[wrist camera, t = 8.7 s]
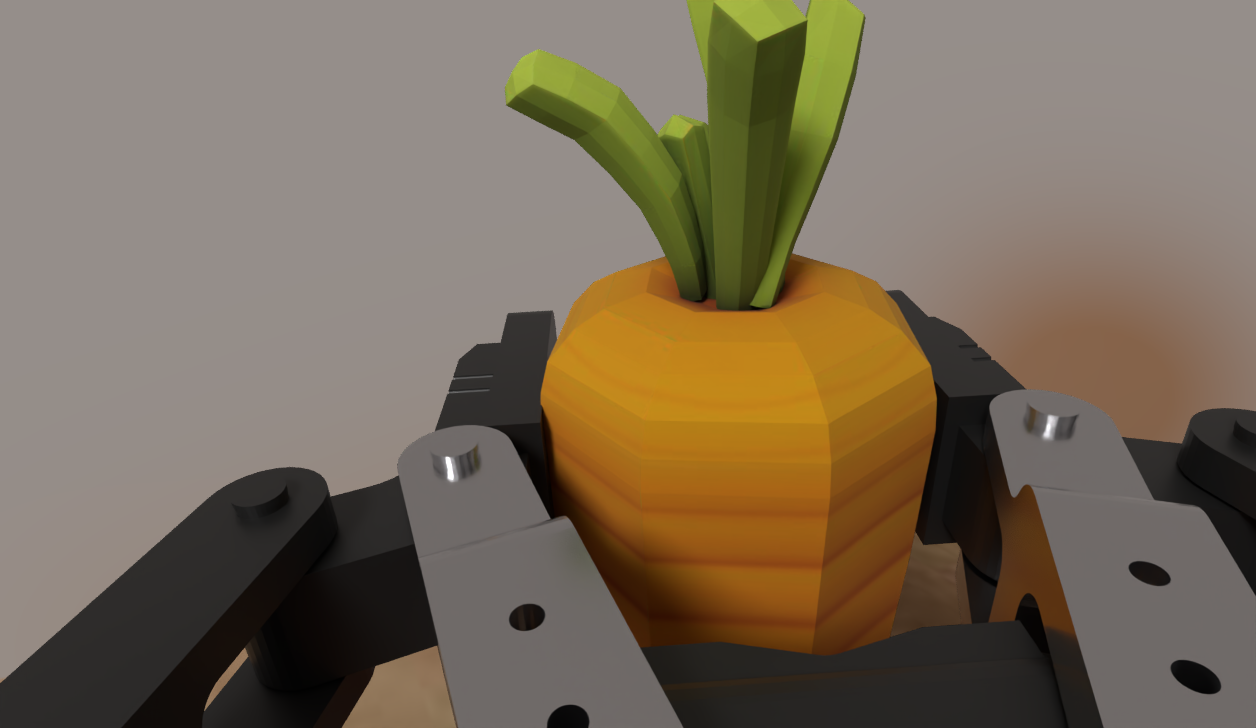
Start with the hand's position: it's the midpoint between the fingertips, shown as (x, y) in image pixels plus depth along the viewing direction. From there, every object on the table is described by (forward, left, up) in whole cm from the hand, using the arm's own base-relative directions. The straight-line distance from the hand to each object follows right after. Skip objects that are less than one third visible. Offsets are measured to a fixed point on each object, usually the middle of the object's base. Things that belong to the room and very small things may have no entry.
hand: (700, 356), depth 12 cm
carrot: (+1, +3, -9) cm, 10 cm away
